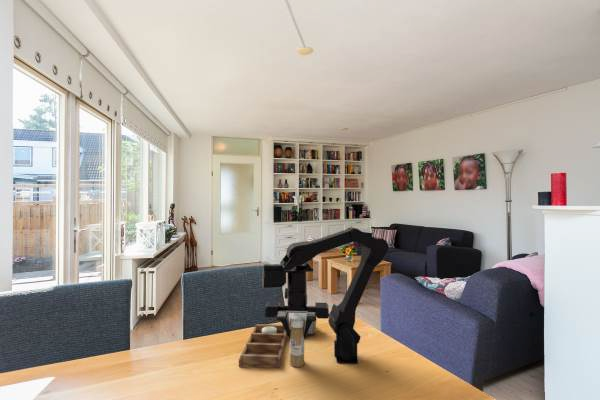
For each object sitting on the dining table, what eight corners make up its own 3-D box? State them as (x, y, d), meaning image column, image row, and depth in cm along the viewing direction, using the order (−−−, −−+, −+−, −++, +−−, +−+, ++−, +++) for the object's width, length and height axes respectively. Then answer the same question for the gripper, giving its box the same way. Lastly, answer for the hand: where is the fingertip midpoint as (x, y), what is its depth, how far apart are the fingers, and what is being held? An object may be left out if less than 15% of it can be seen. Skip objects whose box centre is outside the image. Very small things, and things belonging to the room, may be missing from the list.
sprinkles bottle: (287, 365, 88) (287, 320, 88) (293, 357, 92) (293, 314, 92) (301, 368, 86) (301, 322, 86) (307, 360, 91) (306, 316, 91)
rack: (287, 332, 110) (287, 324, 109) (279, 367, 87) (279, 357, 87) (255, 331, 110) (255, 323, 110) (238, 366, 88) (238, 356, 88)
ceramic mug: (315, 338, 105) (315, 316, 105) (292, 336, 106) (292, 315, 106) (317, 325, 116) (317, 306, 116) (296, 324, 117) (296, 305, 117)
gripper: (327, 279, 97) (327, 327, 97) (270, 278, 98) (270, 325, 98) (328, 289, 86) (328, 344, 86) (264, 288, 87) (264, 342, 87)
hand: (297, 338), depth 89 cm, fingers closed on sprinkles bottle, 4 cm apart
